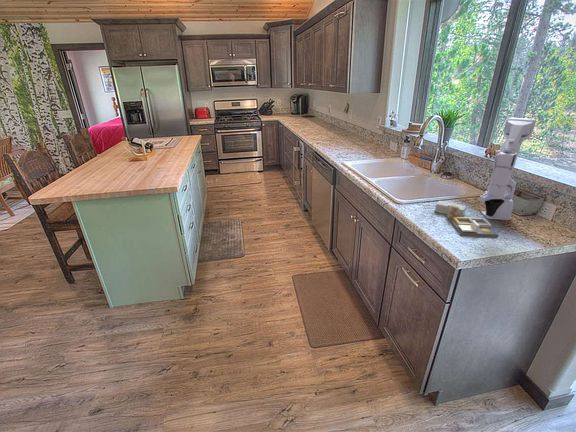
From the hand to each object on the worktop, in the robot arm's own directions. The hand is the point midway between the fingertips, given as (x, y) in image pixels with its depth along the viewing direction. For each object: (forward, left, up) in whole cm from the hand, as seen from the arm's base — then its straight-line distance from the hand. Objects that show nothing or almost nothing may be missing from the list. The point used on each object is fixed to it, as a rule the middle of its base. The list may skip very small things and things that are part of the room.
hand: (489, 215), depth 123 cm
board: (+3, -4, -8) cm, 10 cm away
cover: (+7, 0, -7) cm, 10 cm away
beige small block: (+8, -14, -8) cm, 18 cm away
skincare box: (+13, -24, -6) cm, 28 cm away
